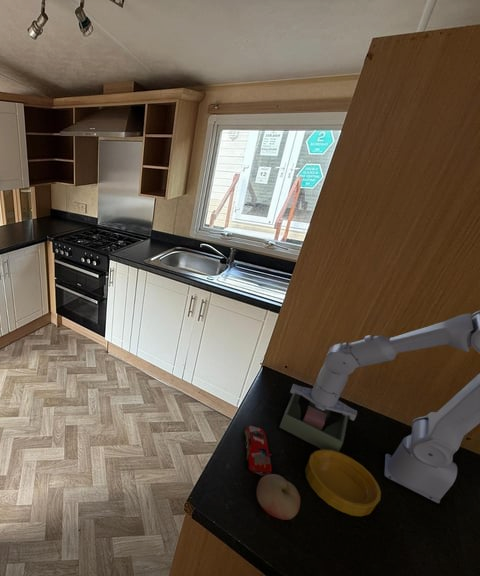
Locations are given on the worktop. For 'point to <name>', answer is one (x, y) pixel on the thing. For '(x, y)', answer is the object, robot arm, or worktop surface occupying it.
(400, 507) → the worktop surface
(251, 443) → the race car
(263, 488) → the fruit
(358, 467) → the bowl
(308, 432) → the bin
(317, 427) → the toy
